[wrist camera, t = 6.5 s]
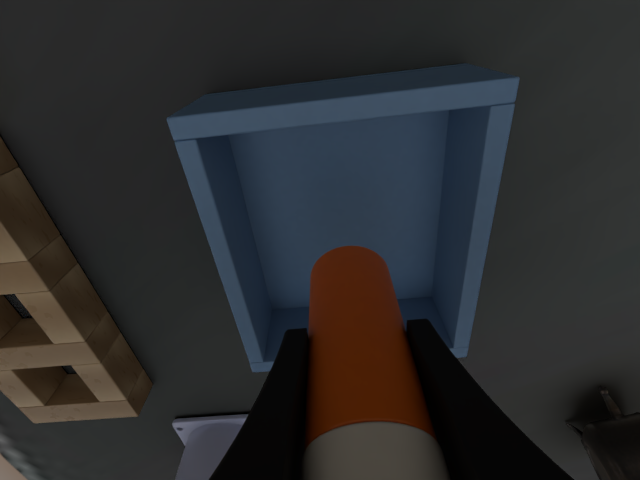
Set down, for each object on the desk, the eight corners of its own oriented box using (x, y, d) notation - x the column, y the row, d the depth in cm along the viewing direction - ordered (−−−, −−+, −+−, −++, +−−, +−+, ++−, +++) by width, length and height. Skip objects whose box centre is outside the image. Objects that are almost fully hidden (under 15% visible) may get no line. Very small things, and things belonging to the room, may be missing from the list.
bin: (440, 298, 22) (466, 357, 18) (263, 312, 22) (252, 372, 19) (467, 62, 14) (521, 76, 11) (204, 94, 15) (165, 117, 11)
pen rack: (153, 384, 27) (138, 416, 24) (56, 391, 27) (33, 423, 25) (-5, 126, 16) (-57, 142, 14) (-161, 144, 16) (-235, 163, 14)
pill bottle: (389, 303, 15) (458, 574, 7) (314, 309, 15) (309, 579, 8) (390, 239, 13) (480, 513, 6) (303, 247, 13) (285, 522, 6)
